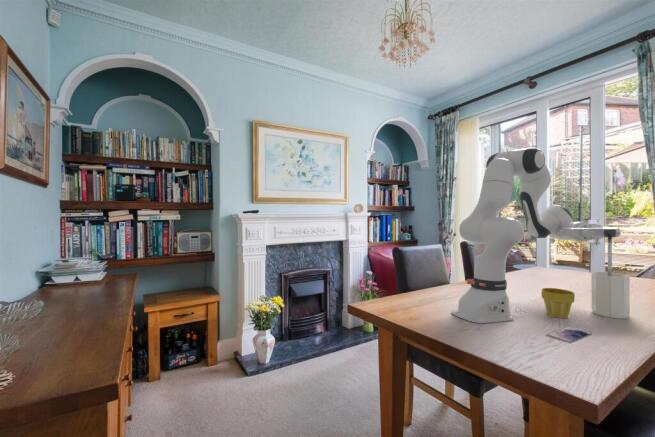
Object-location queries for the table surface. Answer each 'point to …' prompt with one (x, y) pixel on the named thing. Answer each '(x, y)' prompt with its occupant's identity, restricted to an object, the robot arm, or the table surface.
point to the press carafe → (610, 295)
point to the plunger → (609, 247)
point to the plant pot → (557, 301)
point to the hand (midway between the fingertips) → (606, 233)
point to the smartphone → (569, 334)
